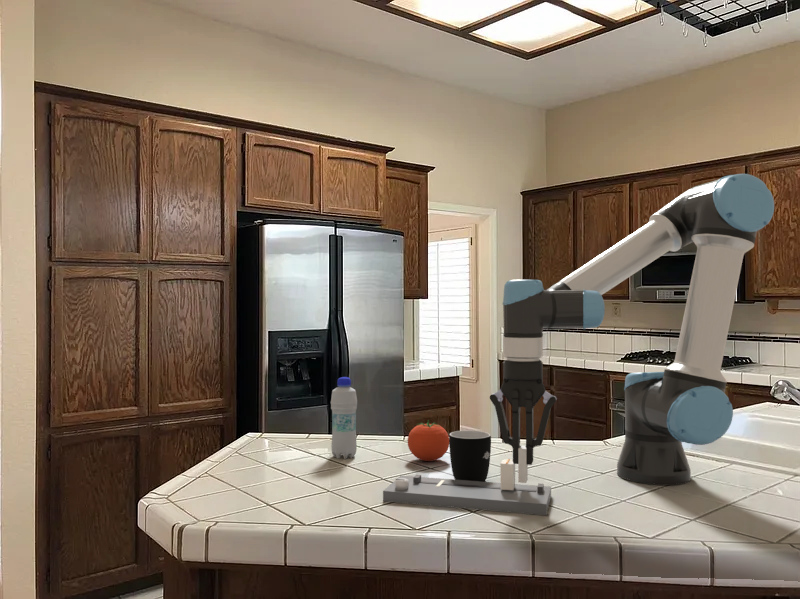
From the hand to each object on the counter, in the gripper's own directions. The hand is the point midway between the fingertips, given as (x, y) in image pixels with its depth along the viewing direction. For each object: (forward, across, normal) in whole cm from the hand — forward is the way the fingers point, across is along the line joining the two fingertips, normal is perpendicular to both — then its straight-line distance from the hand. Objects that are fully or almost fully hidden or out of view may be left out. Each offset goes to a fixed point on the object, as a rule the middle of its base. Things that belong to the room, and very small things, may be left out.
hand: (523, 480), depth 129 cm
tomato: (+4, +26, -27) cm, 37 cm away
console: (+4, +10, +2) cm, 11 cm away
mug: (+4, +12, -13) cm, 18 cm away
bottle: (+4, +47, -26) cm, 54 cm away
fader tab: (+2, +3, 0) cm, 3 cm away
